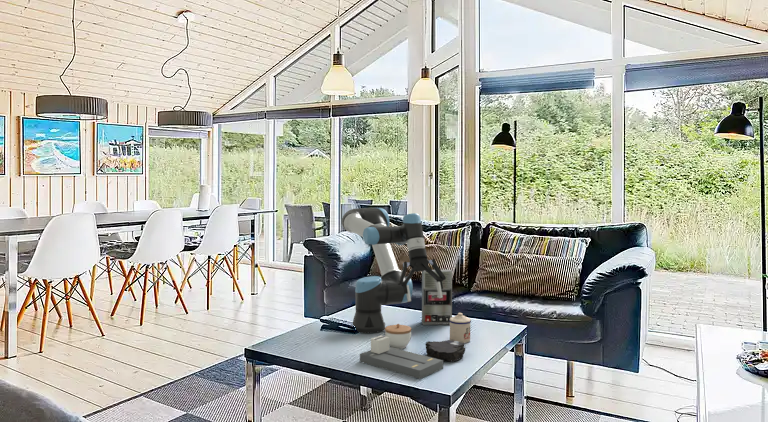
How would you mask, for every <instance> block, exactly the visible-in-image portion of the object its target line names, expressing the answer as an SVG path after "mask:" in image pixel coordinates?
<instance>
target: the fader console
mask: <svg viewBox="0 0 768 422" xmlns="http://www.w3.org/2000/svg"><path fill="white" fill-rule="evenodd" d="M360 361H361V362H360ZM359 362H360V363H362V362H364V363H363V364H365V363H367V364H366V365H369V364H370V365H369V366H372V365H373V367H376V368H380V369H382V370H387V371H391V372H393V373H397V374H400V375H404V376H408V377H411V378H414V379H417V380H418V379H419V380H421V379H424V378H425V377H427V376H430V375H432V374H434V373H436V372H438V371H439V372H440V371H441V370H444V362H443V360H440V359H436V358H432V357H428V356H427V355H423V354H419V353H416V352H412V351H411V352H410V351H407V350H403V349H396V348H392V347H391V346H389V350H388V351H386V352H383V353H380V354H377V353H373V352H371V349H370V350H368V351H364V352H363V353H362V352H361V353H360V354H359Z"/></svg>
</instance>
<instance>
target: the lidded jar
mask: <svg viewBox="0 0 768 422" xmlns="http://www.w3.org/2000/svg"><path fill="white" fill-rule="evenodd" d="M384 332H385V333H384V336H386V337H389V347H392V348H396V349H400V350H403V349H406V347H407V346H408V344H409V343H410V342H411V338H412V327H411V326H409V325H405V324H400V323H397V324H391V325H387V326H385V330H384Z"/></svg>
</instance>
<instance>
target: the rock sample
mask: <svg viewBox="0 0 768 422" xmlns="http://www.w3.org/2000/svg"><path fill="white" fill-rule="evenodd" d="M425 350H426V356H428V357H432V358H436V359H440V360H443V363H451V362H452V363H453V362H456V361H459V360H462V359H463V357H464V354H465V352H466V347H465V343H462V342H460V341H455V340H450V339H449V340H442V341H434V340H433V341H429V340H428V341H426V342H425Z"/></svg>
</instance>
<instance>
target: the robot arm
mask: <svg viewBox="0 0 768 422" xmlns="http://www.w3.org/2000/svg"><path fill="white" fill-rule="evenodd" d="M402 223H403V224H402V225H396V226H394V225H393V226H391V225H390V216H389V213H388V212H387V211H386V209H385V208H382V207H373V208H372V207H365V208H361V207H360V208H359V207H357V208H352V209H349V210H347V211H346V212H345V213H344V214H343V216H342V218H341V226H342V227H343V229H344V230H345V231H346V232H348V233H352V234H356V235H358V236H360V237H362V238H363V239H362V240H363V242H364V243H365V244H366V245H371V246H372V249H373V252H374V255H375V258H376V262H377V265H378V268H379V270H380V271H379V272H380V275H381V276H377V275H372V276H365V277H362V278H359V279H358V280H356V282H355V290H354V292H355V296H354V297H355V313H354V316H353V321H352V323H353V325H354V326H355V327H356V330H357V331H358V332H357V333H359V332H360V333H361V334H377V333H380V332H385V327H386V322H385V321H384V317H383V313H382V306H384V305H397V304H400V305H401V304H404V303H410V302H412V295H413V289H414V288H413V281H412V279H411V278H412V277H413V274H415V272H416V273H418V272H421V273H422V271H426V272H428V273H429V274H430V275H431V276H432V277H433V278H434V279H435V280H436V281H437V283H436V285H437V290H438V296H439V298H442V297H443V296H442V291H441V290H442V289H443V284H442V281H443V280H445V279H446V277H445V276H444V274H443V273H442V271H441V270H442V269H440V267H439V266H438V264H437V262H436V259H435V258H432V259H429V258H428V254H427V249H426V242H425V238H424V231H423V223H422V220H421V216H420V214H418V213H415V212H414V213H408V214H405V215H403V217H402ZM391 244H396V245H398V246H403V245H406V247H407V251H408V259H409V260H408V261H409V262H408V261H404V262H403V263H402V270H400V269H399V266H398V262H397V261H396V260H397V259H396V258H395V255H394V251H393V248H392V245H391ZM429 265H430V266H432V268H433V269H431V267H430V266H429ZM408 267H410V268H411V270H410V271H409V273H408V274H407V276H406V272H407V270H408ZM432 270H435V271H436V273H437V274H438V275H439V276H438V275H437V274H436V273H435V272H434V271H432Z"/></svg>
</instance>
